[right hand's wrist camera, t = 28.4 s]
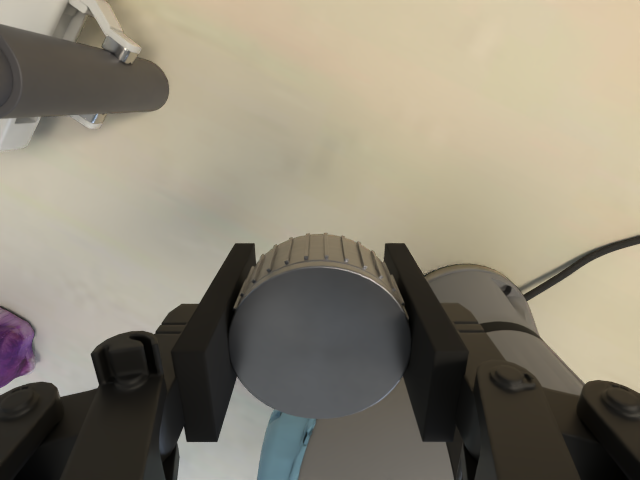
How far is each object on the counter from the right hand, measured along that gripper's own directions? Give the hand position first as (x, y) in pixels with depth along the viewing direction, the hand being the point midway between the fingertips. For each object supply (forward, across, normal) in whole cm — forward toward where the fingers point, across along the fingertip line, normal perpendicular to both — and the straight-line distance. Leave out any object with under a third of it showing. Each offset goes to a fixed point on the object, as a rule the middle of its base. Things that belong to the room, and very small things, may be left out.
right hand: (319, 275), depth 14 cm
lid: (-4, 0, 0) cm, 4 cm away
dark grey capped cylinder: (+24, +16, -8) cm, 30 cm away
